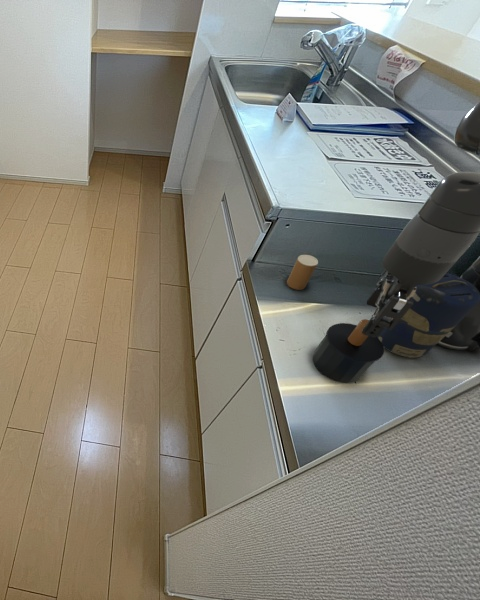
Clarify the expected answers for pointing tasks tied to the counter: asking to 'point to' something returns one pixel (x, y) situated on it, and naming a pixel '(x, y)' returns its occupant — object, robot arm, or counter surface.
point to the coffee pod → (302, 272)
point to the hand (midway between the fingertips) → (370, 319)
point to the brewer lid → (354, 342)
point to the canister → (430, 316)
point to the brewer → (337, 364)
